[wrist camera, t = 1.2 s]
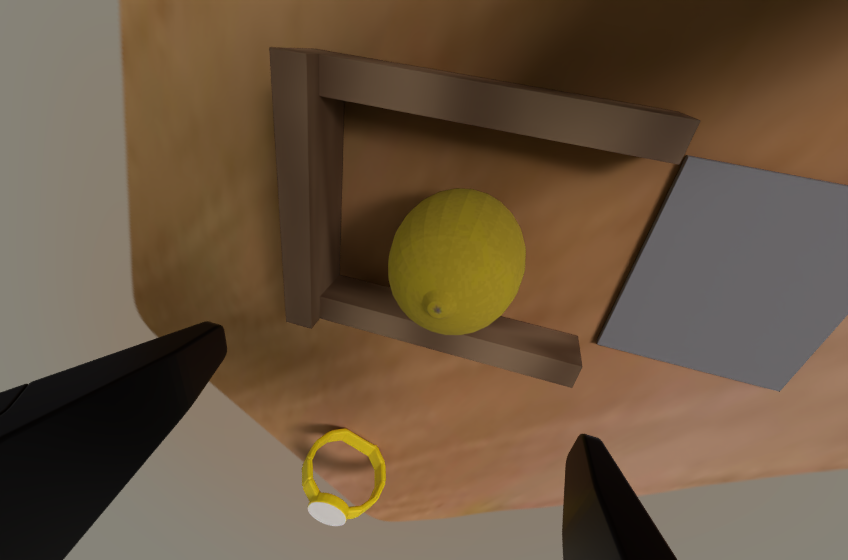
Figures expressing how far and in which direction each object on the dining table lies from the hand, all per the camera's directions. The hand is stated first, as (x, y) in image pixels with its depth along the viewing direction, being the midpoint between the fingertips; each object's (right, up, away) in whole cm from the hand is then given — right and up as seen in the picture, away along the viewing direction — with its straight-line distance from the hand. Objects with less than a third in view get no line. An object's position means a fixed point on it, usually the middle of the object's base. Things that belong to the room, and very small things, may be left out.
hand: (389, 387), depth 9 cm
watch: (-4, -10, +22) cm, 24 cm away
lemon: (+3, +6, +10) cm, 12 cm away
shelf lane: (+3, +5, +10) cm, 12 cm away
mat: (+15, +2, +9) cm, 18 cm away
